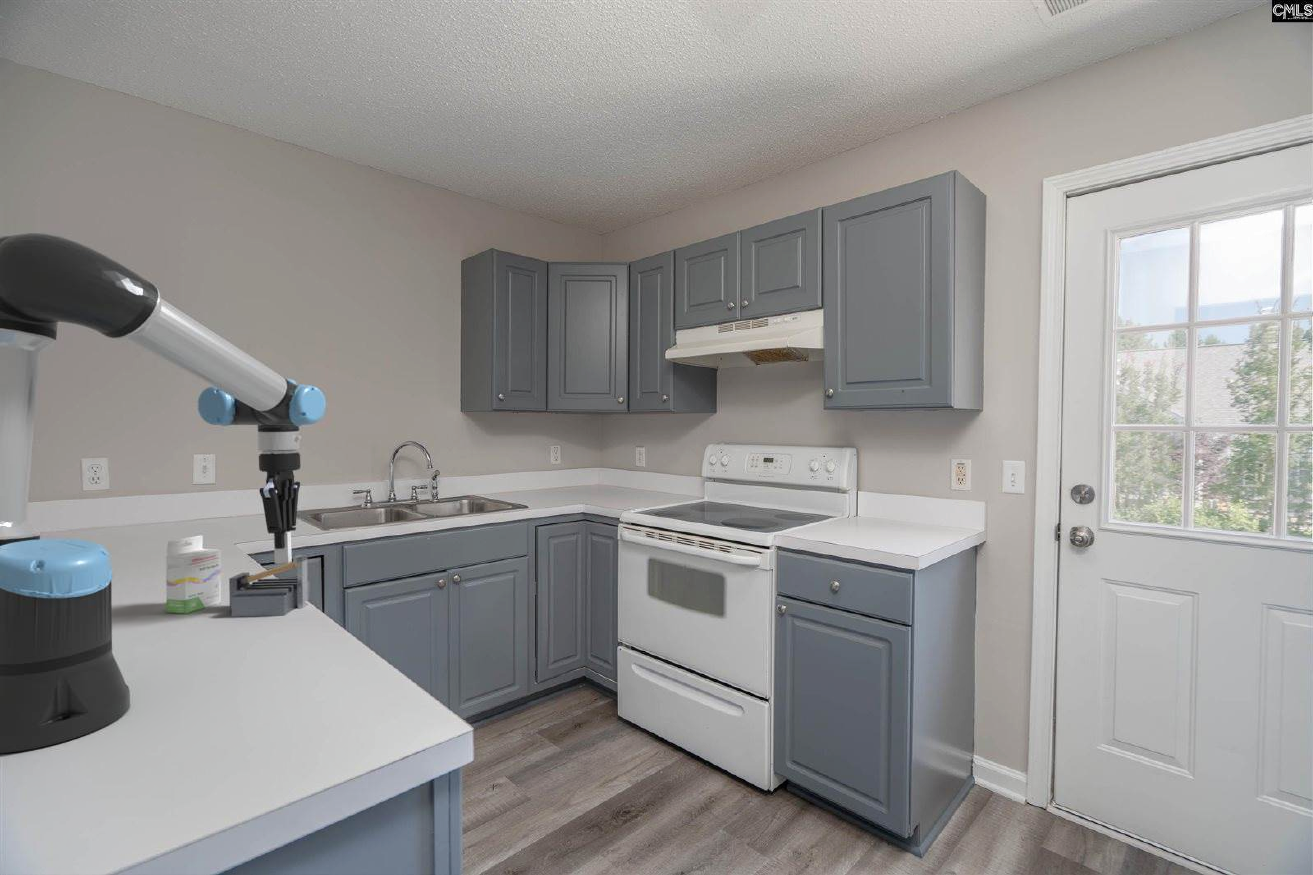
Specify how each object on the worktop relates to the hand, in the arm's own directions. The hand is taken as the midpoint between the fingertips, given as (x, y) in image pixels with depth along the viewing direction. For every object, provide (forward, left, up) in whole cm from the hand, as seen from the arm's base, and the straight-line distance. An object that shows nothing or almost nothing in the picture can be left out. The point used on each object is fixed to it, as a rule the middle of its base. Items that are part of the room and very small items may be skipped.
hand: (283, 562), depth 132 cm
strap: (0, +2, -3) cm, 4 cm away
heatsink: (0, +2, -9) cm, 10 cm away
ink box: (+2, +18, -10) cm, 21 cm away
